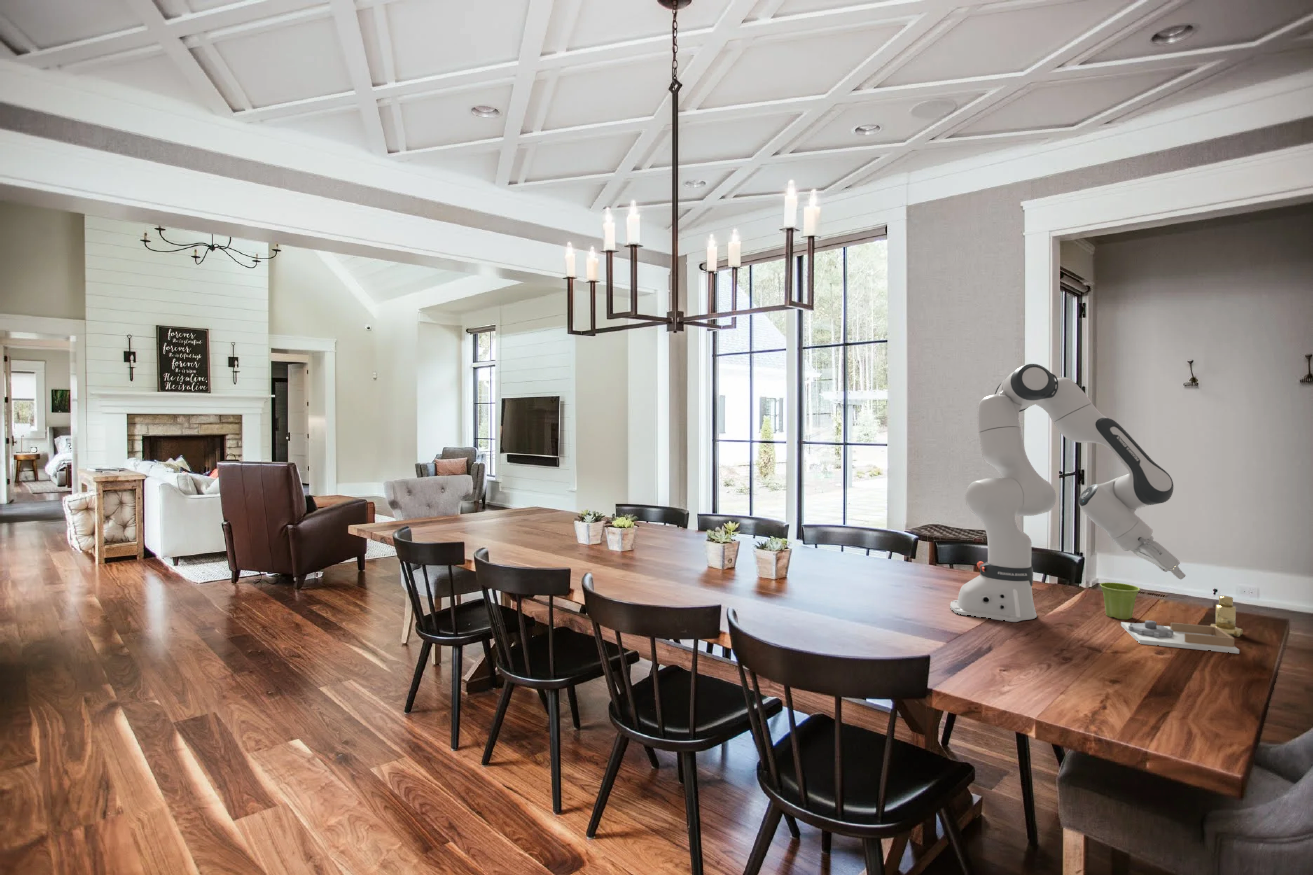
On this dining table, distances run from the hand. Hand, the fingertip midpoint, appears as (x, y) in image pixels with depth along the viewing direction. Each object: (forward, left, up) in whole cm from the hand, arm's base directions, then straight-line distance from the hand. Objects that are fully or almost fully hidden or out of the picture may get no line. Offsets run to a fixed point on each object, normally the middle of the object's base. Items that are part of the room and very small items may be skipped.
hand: (1174, 573), depth 183 cm
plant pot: (-11, +6, -15) cm, 19 cm away
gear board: (-3, -12, -14) cm, 19 cm away
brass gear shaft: (+11, -1, -14) cm, 18 cm away
